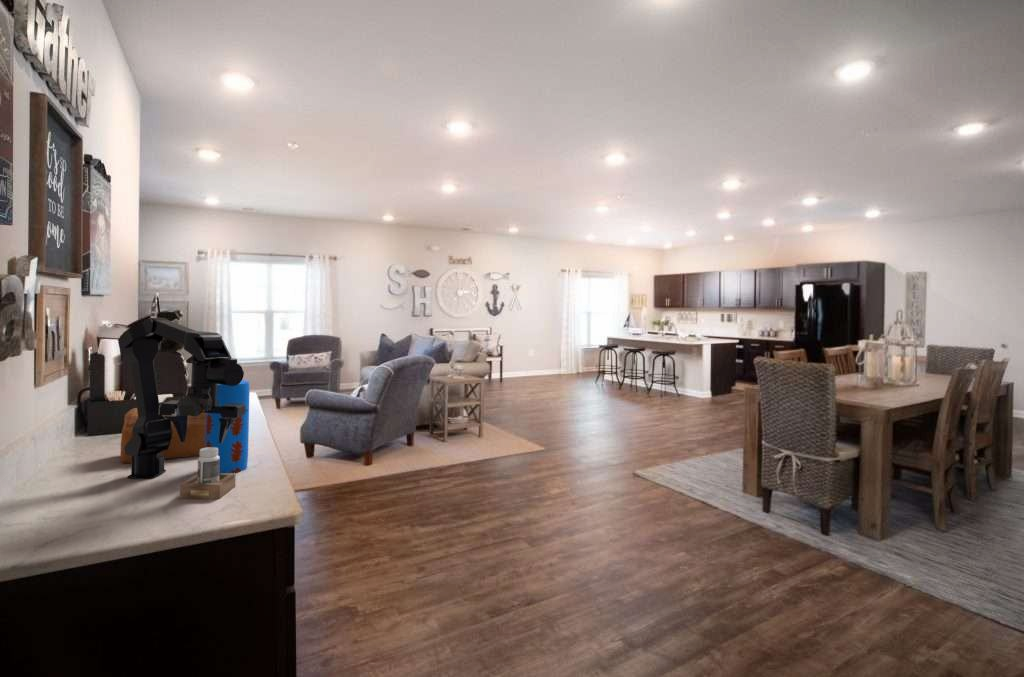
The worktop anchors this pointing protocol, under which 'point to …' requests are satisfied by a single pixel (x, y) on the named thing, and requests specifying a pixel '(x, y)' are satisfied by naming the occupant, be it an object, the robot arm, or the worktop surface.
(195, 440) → the bread
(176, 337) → the robot arm
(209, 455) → the pill bottle
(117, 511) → the worktop surface
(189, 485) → the wooden tray
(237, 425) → the thermos
